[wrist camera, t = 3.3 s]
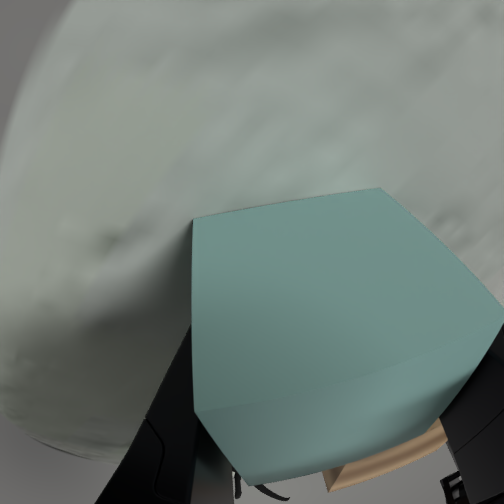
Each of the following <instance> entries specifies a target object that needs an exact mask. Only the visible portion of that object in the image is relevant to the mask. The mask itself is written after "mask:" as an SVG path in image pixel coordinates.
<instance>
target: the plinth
mask: <svg viewBox="0 0 504 504" xmlns="http://www.w3.org/2000/svg"><path fill="white" fill-rule="evenodd" d="M447 440H448V439H447V436H446V434H445V431H444V429H443V427H442V424H441V422H440V419H439V417H438V419H437V420H436V421H435V422H434V423H433V424H432V426H431V427H430V428H429V429H428V430H427V431H426V432H425V433H424V434H422V435H420V436H418V437H416V438H414V439H411V440H409V441H407V442H405V443H402V444H400V445H398V446H395V447H393V448H390V449H388V450H385V451H383V452H380V453H377V454H375V455H372V456H369V457H366V458H363V459H360V460H358V461H354V462H351V463H348V464H345V465H342V466H339V467H335V468H332V469H328V470H325V471H322V473H323V476H324V480H325V483H326V487H327V490H328V492H333V491H336V490H339V489H342V488H346V487H349V486H352V485H355V484H358V483H361V482H364V481H367V480H370V479H372V478H375V477H377V476H380V475H383V474H385V473H388V472H390V471H393V470H395V469H398V468H400V467H402V466H405V465H407V464H409V463H411V462H413V461H416V460H418V459H420V458H422V457H424V456H426V455H428V454H430V453H432V452H434V451H436V450H437V449H438V448H439V447H440V446H442V445H443V444H444V443H445V442H446V441H447Z"/></svg>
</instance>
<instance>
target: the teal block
mask: <svg viewBox="0 0 504 504" xmlns="http://www.w3.org/2000/svg"><path fill="white" fill-rule="evenodd" d="M503 323H504V308H503V307H502V305H501V304H500V303H499V302H498V301H497V300H496V298H495V297H494V296H493V295H492V294H491V293H490V292H489V291H488V289H487V288H486V287H485V286H484V285H483V284H482V283H481V282H480V281H479V279H478V278H477V277H476V276H475V275H474V274H473V273H472V272H471V271H470V270H469V269H468V268H467V267H466V266H465V265H464V264H463V263H462V262H461V261H460V260H459V259H458V258H457V257H456V256H455V255H454V254H453V253H452V252H451V251H450V250H449V249H448V248H447V247H446V246H445V245H444V244H443V243H442V242H441V241H440V240H439V239H438V238H437V237H436V236H435V235H434V234H433V233H432V232H431V231H430V230H428V229H427V228H426V227H425V226H424V225H423V224H422V223H421V222H420V221H419V220H417V219H416V218H415V217H414V216H413V215H412V214H411V213H410V212H408V211H407V210H406V209H405V208H404V207H403V206H401V205H400V204H399V203H398V202H397V201H396V200H394V199H393V198H392V197H391V196H390V195H388V194H387V193H386V192H385V191H384V190H382V189H381V188H376V189H369V190H362V191H354V192H347V193H341V194H334V195H327V196H321V197H314V198H308V199H302V200H295V201H289V202H283V203H277V204H272V205H266V206H260V207H254V208H249V209H243V210H238V211H232V212H227V213H222V214H216V215H211V216H206V217H201V218H196V219H193V239H192V367H193V394H194V412H195V413H196V415H197V416H198V418H199V419H200V421H201V422H202V424H203V425H204V427H205V428H206V430H207V431H208V433H209V434H210V435H211V437H212V438H213V440H214V441H215V443H216V444H217V445H218V447H219V448H220V449H221V451H222V452H223V454H224V455H225V456H226V458H227V459H228V460H229V462H230V463H231V464H232V466H233V467H234V468H235V469H236V471H237V472H238V473H239V475H240V476H241V477H242V478H243V479H244V481H245V482H246V483H247V485H248V486H254V485H260V484H266V483H271V482H277V481H282V480H287V479H291V478H296V477H301V476H305V475H309V474H313V473H317V472H321V471H325V470H328V469H332V468H335V467H339V466H342V465H345V464H348V463H351V462H354V461H358V460H360V459H363V458H366V457H369V456H372V455H375V454H377V453H380V452H383V451H385V450H388V449H390V448H393V447H395V446H398V445H400V444H402V443H405V442H407V441H409V440H411V439H414V438H416V437H418V436H420V435H422V434H424V433H425V432H426V431H427V430H428V429H429V428H430V427H431V426H432V424H433V423H434V422H435V421H436V420H437V419H438V417H439V416H440V415H441V414H442V413H443V411H444V410H445V409H446V408H447V407H448V405H449V404H450V403H451V402H452V400H453V399H454V398H455V396H456V395H457V394H458V392H459V391H460V390H461V388H462V387H463V386H464V384H465V383H466V382H467V380H468V379H469V377H470V376H471V375H472V373H473V372H474V370H475V369H476V367H477V366H478V364H479V363H480V361H481V360H482V358H483V357H484V355H485V354H486V352H487V350H488V349H489V347H490V346H491V344H492V342H493V341H494V339H495V337H496V335H497V334H498V332H499V330H500V329H501V327H502V325H503Z"/></svg>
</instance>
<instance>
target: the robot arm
mask: <svg viewBox="0 0 504 504" xmlns="http://www.w3.org/2000/svg"><path fill="white" fill-rule="evenodd" d="M145 418H146V419H147V420H146V419H144V420H143V422H142V424H141V426H140V428H139V430H138V432H137V434H136V436H135V438H134V440H133V442H132V444H131V446H130V448H129V450H128V451H127V453H126V455H125V456H124V458H123V460H122V461H121V463H120V465H119V466H118V468H117V470H116V471H115V473H114V474H113V476H112V477H111V479H110V480H109V482H108V483H107V485H106V487H105V488H104V490H103V491H102V493H101V494H100V496H99V497H98V499H97V501H96V502H95V504H234V497H233V481H232V464H231V463H230V462H229V460H228V459H227V458H226V456H225V455H224V454H223V452H222V451H221V449H220V448H219V447H218V445H217V444H216V443H215V441H214V440H213V438H212V437H211V435H210V434H209V433H208V431H207V430H206V428H205V427H204V425H203V424H202V422H201V421H200V419H199V418H198V416H197V415H196V413H195V412H194V394H193V367H192V323H191V325H190V327H189V329H188V331H187V333H186V335H185V337H184V339H183V341H182V343H181V345H180V347H179V349H178V351H177V353H176V355H175V357H174V359H173V361H172V363H171V365H170V367H169V369H168V371H167V373H166V375H165V377H164V379H163V381H162V383H161V385H160V387H159V389H158V391H157V394H156V396H155V398H154V400H153V402H152V404H151V406H150V408H149V410H148V412H147V414H146V416H145ZM439 419H440V422H441V424H442V427H443V429H444V431H445V434H446V436H447V439H448V440H447V441H446V444H447V446H448V449H449V451H450V453H451V455H452V457H453V460H454V462H455V464H456V466H457V469H458V470H459V471H457V472H455V473H453V474H451V475H449V476H447V477H445V478H443V479H442V480H440V483H441V485H442V488H443V490H444V493H445V497H446V504H504V323H503V325H502V327H501V329H500V330H499V332H498V334H497V335H496V337H495V339H494V341H493V342H492V344H491V346H490V347H489V349H488V350H487V352H486V354H485V355H484V357H483V358H482V360H481V361H480V363H479V364H478V366H477V367H476V369H475V370H474V372H473V373H472V375H471V376H470V377H469V379H468V380H467V382H466V383H465V384H464V386H463V387H462V388H461V390H460V391H459V392H458V394H457V395H456V396H455V398H454V399H453V400H452V402H451V403H450V404H449V405H448V407H447V408H446V409H445V410H444V411H443V413H442V414H441V415H440V416H439ZM459 476H461V478H462V480H461V481H460V480H459V478H458V477H459Z"/></svg>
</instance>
